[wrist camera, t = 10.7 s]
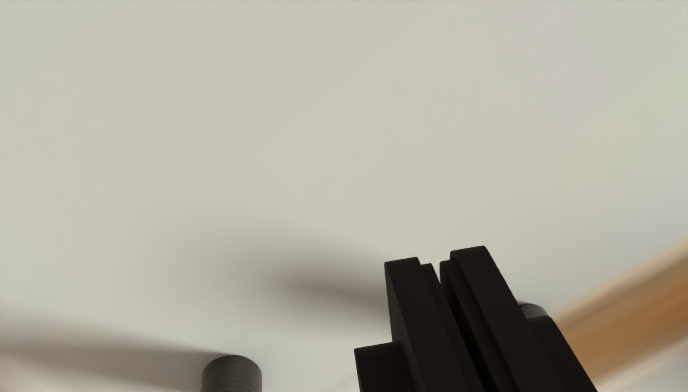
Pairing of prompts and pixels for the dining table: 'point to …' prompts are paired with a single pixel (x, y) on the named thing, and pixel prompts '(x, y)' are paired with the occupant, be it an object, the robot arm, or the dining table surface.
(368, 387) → the robot arm
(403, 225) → the dining table surface
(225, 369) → the post
